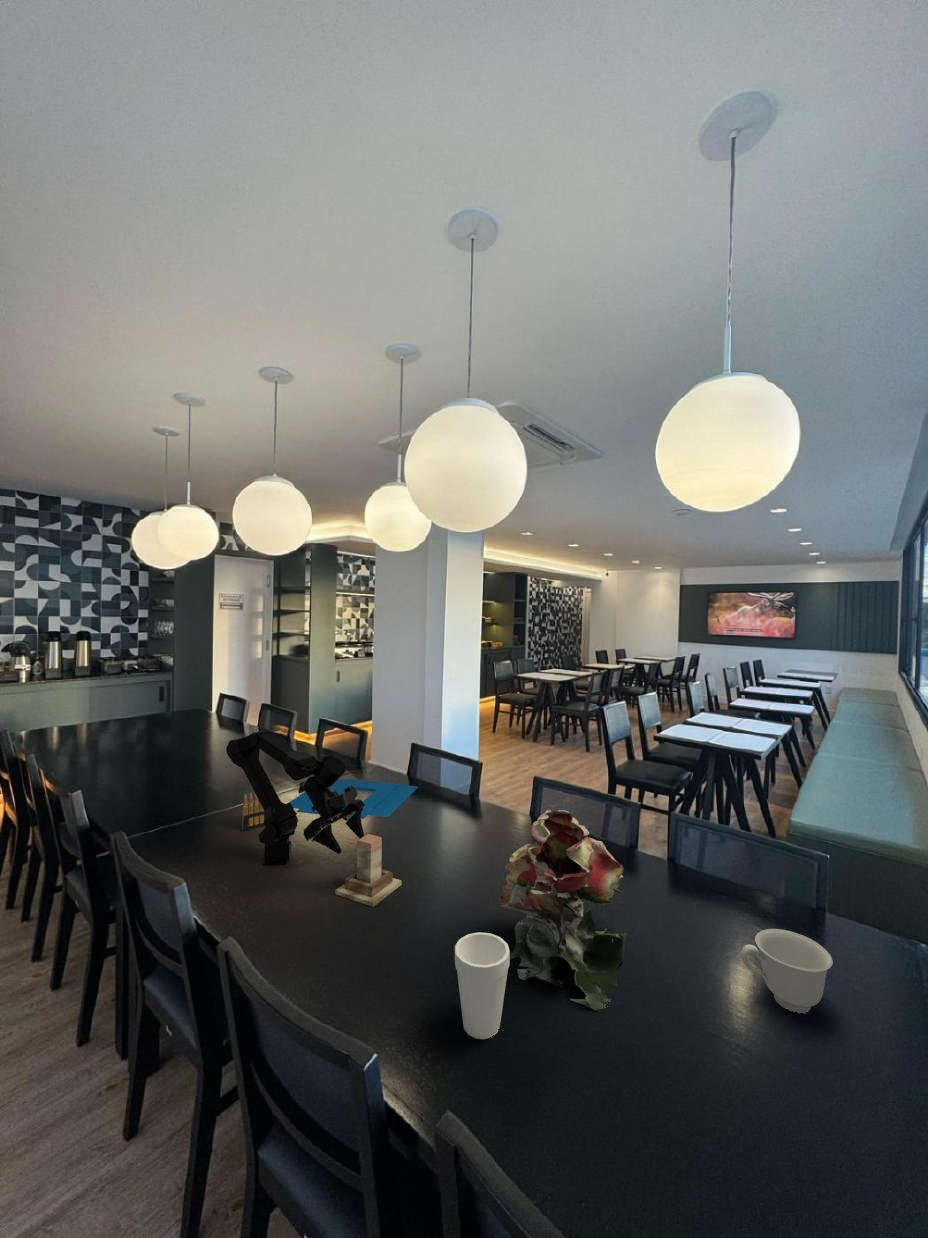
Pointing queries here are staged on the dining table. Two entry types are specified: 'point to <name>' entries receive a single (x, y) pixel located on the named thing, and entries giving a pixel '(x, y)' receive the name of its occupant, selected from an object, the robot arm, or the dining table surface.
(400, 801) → the frame
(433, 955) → the dining table surface
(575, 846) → the rose bouquet
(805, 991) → the teacup
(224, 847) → the dining table surface
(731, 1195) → the dining table surface
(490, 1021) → the foam cup
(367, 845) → the birch post
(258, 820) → the ammunition clip
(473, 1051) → the dining table surface
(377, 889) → the socket stand
